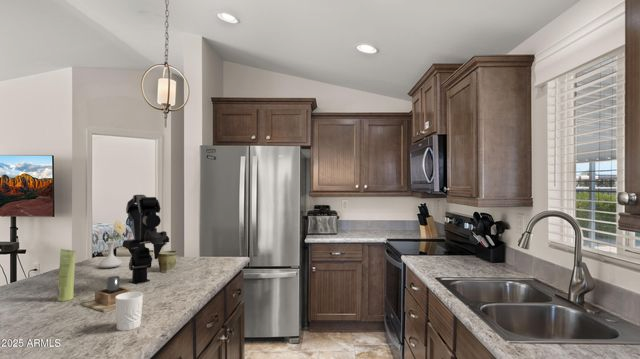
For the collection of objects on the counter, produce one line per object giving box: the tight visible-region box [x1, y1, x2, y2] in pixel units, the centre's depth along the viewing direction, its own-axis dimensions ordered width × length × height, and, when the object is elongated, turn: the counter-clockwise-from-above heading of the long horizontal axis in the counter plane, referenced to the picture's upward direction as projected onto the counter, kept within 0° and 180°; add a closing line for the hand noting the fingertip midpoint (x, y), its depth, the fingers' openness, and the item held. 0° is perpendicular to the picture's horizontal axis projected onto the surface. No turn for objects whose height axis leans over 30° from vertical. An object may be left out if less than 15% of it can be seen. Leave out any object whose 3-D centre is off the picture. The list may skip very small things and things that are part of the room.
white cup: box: [115, 291, 144, 332], centre depth 110 cm, size 8×8×10 cm
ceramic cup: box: [157, 249, 179, 274], centre depth 181 cm, size 13×10×10 cm
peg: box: [106, 275, 120, 294], centre depth 131 cm, size 4×4×9 cm
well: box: [82, 285, 131, 313], centre depth 131 cm, size 14×14×5 cm
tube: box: [57, 248, 76, 302], centre depth 134 cm, size 6×5×20 cm
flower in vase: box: [98, 220, 127, 269], centre depth 187 cm, size 13×11×25 cm
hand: (146, 261), depth 149 cm, fingers open, 9 cm apart
